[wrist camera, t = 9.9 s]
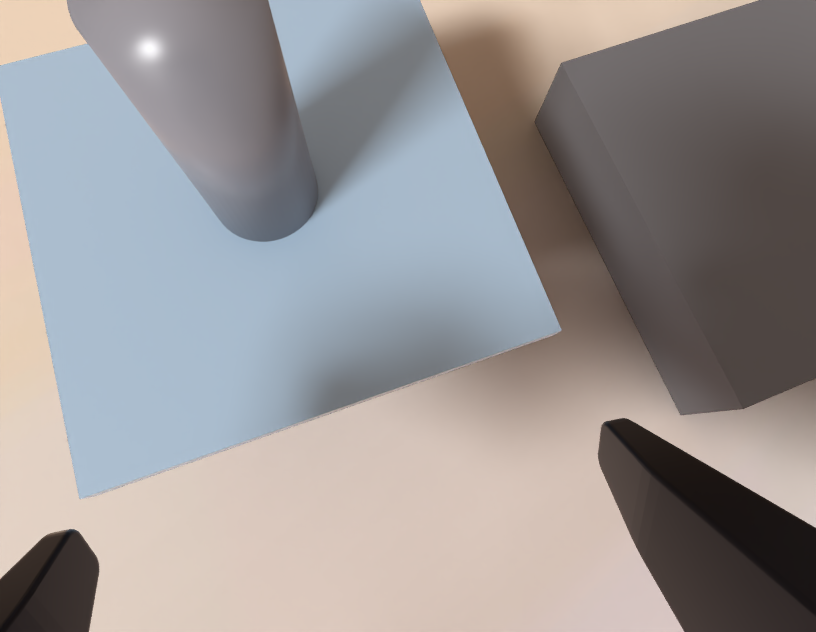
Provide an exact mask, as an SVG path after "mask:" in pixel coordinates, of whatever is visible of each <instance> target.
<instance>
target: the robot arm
mask: <svg viewBox="0 0 816 632" xmlns="http://www.w3.org/2000/svg"><path fill="white" fill-rule="evenodd" d="M598 460H599V464H600V467H601V470H602V472H603V474H604V476H605V479H606V481H607V483H608V485H609V488H610V490H611V492H612V494H613V497H614V499H615V501H616V503H617V506H618V508H619V510H620V512H621V515H622V517H623V519H624V521H625V524H626V526H627V528H628V530H629V533H630V535H631V537H632V539H633V541H634V543H635V546H636V548H637V549H638V551H639V553H640V555H641V557H642V559H643V561H644V562H645V564H646V566H647V567H648V569H649V571H650V573H651V574H652V576H653V578H654V580H655V581H656V583H657V585H658V587H659V588H660V590H661V592H662V594H663V595H664V597H665V599H666V601H667V602H668V604H669V606H670V608H671V609H672V611H673V613H674V614H675V616H676V618H677V620H678V621H679V623H680V625H681V627H682V628H683V630H684V632H816V528H815V527H813V526H812V525H810V524H808V523H806V522H805V521H803V520H801V519H800V518H798V517H796V516H794V515H793V514H791V513H789V512H788V511H786V510H784V509H782V508H781V507H779V506H777V505H775V504H774V503H772V502H770V501H769V500H767V499H765V498H763V497H762V496H760V495H758V494H757V493H755V492H753V491H751V490H750V489H748V488H746V487H744V486H743V485H741V484H739V483H738V482H736V481H734V480H732V479H731V478H729V477H727V476H726V475H724V474H722V473H720V472H719V471H717V470H715V469H714V468H712V467H710V466H708V465H707V464H705V463H703V462H701V461H700V460H698V459H696V458H695V457H693V456H691V455H689V454H688V453H686V452H684V451H683V450H681V449H679V448H677V447H676V446H674V445H672V444H670V443H669V442H667V441H665V440H664V439H662V438H660V437H658V436H657V435H655V434H653V433H652V432H650V431H648V430H646V429H645V428H643V427H641V426H640V425H638V424H636V423H634V422H633V421H631V420H629V419H626V418H621V419H616V420H611V421H606V422H604V423H603V425H602V427H601V433H600V442H599V450H598ZM98 576H99V562H98V559H97V557H96V555H95V554H94V552H93V551H92V550H91V548H90V547H89V545H88V544H87V542H86V541H85V540H84V538H83V537H82V535H81V534H80V533H79V532H78V531H76V530H74V529H69V530H64V531H59V532H54V533H50V534H48V535H46V536H45V537H43V538H42V539H41V540H40V541H39V542H38V543H37V544H36V545H35V546H34V547H33V548H32V549H31V550H30V551H29V552H28V553H27V554H26V555H24V556H23V557H22V558H21V559H20V560H19V561H18V562H17V563H16V564H15V565H14V566H13V567H12V568H11V569H10V570H9V571H8V572H7V573H6V574H5V575H4V576H3V577H2V578H1V579H0V632H89V628H90V623H91V617H92V611H93V605H94V599H95V593H96V588H97V582H98Z"/></svg>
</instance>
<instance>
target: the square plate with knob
mask: <svg viewBox="0 0 816 632" xmlns="http://www.w3.org/2000/svg"><path fill="white" fill-rule="evenodd" d="M67 5H68V10H69V13H70V16H71V19H72V21H73V23H74V25H75V27H76V28H77V30H78V31H79V32H80V34H81V35H82V36H83V38H84V39H85V40H86V42H87V43H88V44H84V45H80V46H76V47H72V48H68V49H64V50H60V51H56V52H52V53H48V54H44V55H40V56H36V57H32V58H28V59H24V60H20V61H16V62H12V63H8V64H4V65H0V98H1V103H2V108H3V113H4V118H5V123H6V128H7V134H8V139H9V144H10V149H11V154H12V159H13V164H14V169H15V174H16V179H17V184H18V189H19V194H20V199H21V204H22V210H23V215H24V220H25V225H26V230H27V235H28V240H29V245H30V250H31V255H32V260H33V265H34V270H35V275H36V280H37V286H38V291H39V296H40V301H41V306H42V311H43V316H44V321H45V326H46V331H47V336H48V341H49V346H50V351H51V357H52V362H53V367H54V372H55V377H56V382H57V387H58V392H59V397H60V402H61V407H62V412H63V417H64V422H65V427H66V433H67V438H68V443H69V448H70V453H71V458H72V463H73V468H74V473H75V478H76V483H77V488H78V493H79V498H80V499H83V498H89V497H94V496H97V495H100V494H103V493H105V492H108V491H111V490H114V489H117V488H120V487H123V486H125V485H128V484H131V483H134V482H137V481H140V480H143V479H145V478H148V477H151V476H154V475H157V474H160V473H162V472H165V471H168V470H171V469H174V468H177V467H180V466H182V465H185V464H188V463H191V462H194V461H197V460H200V459H202V458H205V457H208V456H211V455H214V454H217V453H219V452H222V451H225V450H228V449H231V448H234V447H237V446H239V445H242V444H245V443H248V442H251V441H254V440H257V439H259V438H262V437H265V436H268V435H271V434H274V433H277V432H279V431H282V430H285V429H288V428H291V427H294V426H296V425H299V424H302V423H305V422H308V421H311V420H314V419H316V418H319V417H322V416H325V415H328V414H331V413H334V412H336V411H339V410H342V409H345V408H348V407H351V406H353V405H356V404H359V403H362V402H365V401H368V400H371V399H373V398H376V397H379V396H382V395H385V394H388V393H391V392H393V391H396V390H399V389H402V388H405V387H408V386H410V385H413V384H416V383H419V382H422V381H425V380H428V379H430V378H433V377H436V376H439V375H442V374H445V373H448V372H450V371H453V370H456V369H459V368H462V367H465V366H467V365H470V364H473V363H476V362H479V361H482V360H485V359H487V358H490V357H493V356H496V355H499V354H502V353H505V352H507V351H510V350H513V349H516V348H519V347H522V346H525V345H527V344H530V343H533V342H536V341H539V340H542V339H544V338H547V337H550V336H553V335H555V334H557V333H558V332H560V331H561V327H560V325H559V323H558V320H557V318H556V316H555V313H554V311H553V309H552V306H551V304H550V302H549V299H548V297H547V295H546V292H545V290H544V288H543V285H542V283H541V281H540V278H539V276H538V274H537V271H536V269H535V267H534V264H533V262H532V260H531V257H530V255H529V253H528V250H527V248H526V246H525V244H524V241H523V239H522V237H521V234H520V232H519V230H518V227H517V225H516V223H515V220H514V218H513V216H512V213H511V211H510V209H509V206H508V204H507V202H506V199H505V197H504V195H503V192H502V190H501V188H500V185H499V183H498V181H497V178H496V176H495V174H494V171H493V169H492V167H491V164H490V162H489V160H488V158H487V155H486V153H485V151H484V148H483V146H482V144H481V141H480V139H479V137H478V134H477V132H476V130H475V127H474V125H473V123H472V120H471V118H470V116H469V113H468V111H467V109H466V106H465V104H464V102H463V99H462V97H461V95H460V92H459V90H458V88H457V85H456V83H455V81H454V78H453V76H452V74H451V71H450V69H449V67H448V65H447V62H446V60H445V58H444V55H443V53H442V51H441V48H440V46H439V44H438V41H437V39H436V37H435V34H434V32H433V30H432V27H431V25H430V23H429V20H428V18H427V16H426V13H425V11H424V9H423V6H422V4H421V2H420V0H67Z"/></svg>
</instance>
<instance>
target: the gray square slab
mask: <svg viewBox="0 0 816 632" xmlns="http://www.w3.org/2000/svg"><path fill="white" fill-rule="evenodd" d="M535 124H536V126H537V128H538V130H539V132H540V134H541V136H542V138H543V140H544V142H545V144H546V146H547V148H548V150H549V152H550V154H551V156H552V158H553V160H554V162H555V164H556V166H557V168H558V170H559V172H560V174H561V176H562V178H563V180H564V182H565V184H566V186H567V188H568V190H569V192H570V194H571V196H572V198H573V200H574V202H575V204H576V206H577V208H578V210H579V212H580V214H581V216H582V218H583V220H584V222H585V224H586V226H587V228H588V230H589V232H590V234H591V236H592V238H593V240H594V242H595V244H596V246H597V248H598V250H599V252H600V254H601V256H602V258H603V260H604V262H605V264H606V266H607V268H608V270H609V272H610V274H611V276H612V278H613V280H614V282H615V284H616V286H617V288H618V290H619V292H620V294H621V296H622V298H623V300H624V302H625V304H626V306H627V308H628V310H629V312H630V314H631V317H632V319H633V321H634V323H635V325H636V327H637V329H638V331H639V333H640V335H641V337H642V339H643V341H644V343H645V345H646V347H647V349H648V351H649V353H650V355H651V357H652V359H653V361H654V363H655V365H656V367H657V369H658V371H659V373H660V375H661V377H662V379H663V381H664V383H665V385H666V387H667V389H668V391H669V393H670V395H671V397H672V399H673V401H674V403H675V405H676V407H677V409H678V411H679V413H680V415H687V414H697V413H707V412H717V411H727V410H737V409H744V408H747V407H749V406H751V405H754V404H756V403H758V402H761V401H763V400H765V399H768V398H770V397H772V396H775V395H777V394H779V393H782V392H784V391H786V390H789V389H791V388H793V387H796V386H798V385H800V384H803V383H805V382H808V381H810V380H812V379H815V378H816V0H759V1H755V2H752V3H749V4H746V5H743V6H740V7H736V8H733V9H730V10H727V11H724V12H721V13H717V14H714V15H711V16H708V17H705V18H702V19H699V20H695V21H692V22H689V23H686V24H683V25H680V26H676V27H673V28H670V29H667V30H664V31H661V32H657V33H654V34H651V35H648V36H645V37H642V38H638V39H635V40H632V41H629V42H626V43H623V44H619V45H616V46H613V47H610V48H607V49H604V50H600V51H597V52H594V53H591V54H588V55H585V56H581V57H578V58H575V59H572V60H569V61H566V62H563V63H561V65H560V67H559V69H558V71H557V73H556V76H555V78H554V80H553V82H552V84H551V87H550V89H549V91H548V93H547V95H546V98H545V100H544V102H543V104H542V106H541V109H540V111H539V113H538V115H537V117H536V120H535Z"/></svg>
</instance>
